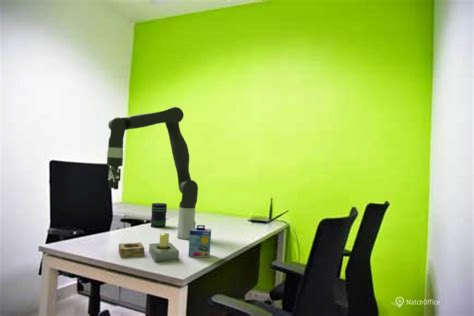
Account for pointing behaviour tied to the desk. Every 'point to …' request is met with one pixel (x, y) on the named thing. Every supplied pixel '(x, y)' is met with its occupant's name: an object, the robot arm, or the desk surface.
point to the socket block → (131, 249)
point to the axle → (164, 241)
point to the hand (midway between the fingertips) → (113, 188)
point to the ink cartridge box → (199, 242)
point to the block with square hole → (163, 253)
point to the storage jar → (158, 215)
